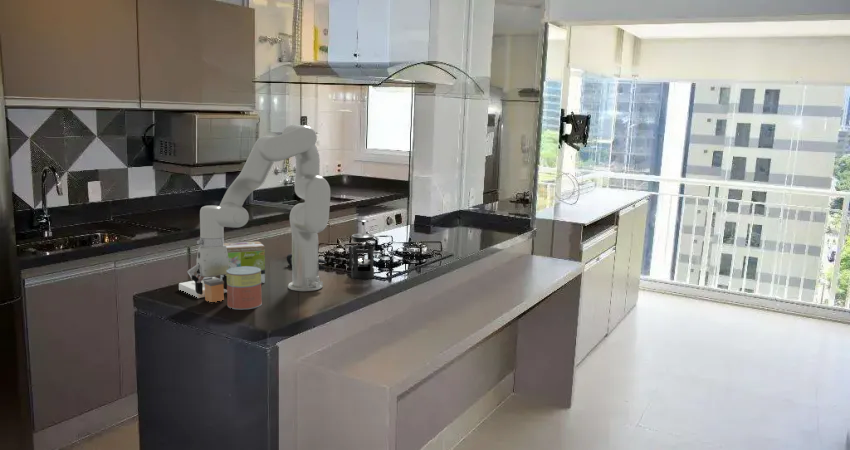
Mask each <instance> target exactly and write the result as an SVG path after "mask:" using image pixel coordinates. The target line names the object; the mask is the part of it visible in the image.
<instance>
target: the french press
mask: <svg viewBox="0 0 850 450" xmlns="http://www.w3.org/2000/svg"><path fill="white" fill-rule="evenodd" d="M357 222H359V223H361V225H362V233H361V232H360V233H354V234H352V235H351V238H352V242H354V243H360V245H351V246H349V247H348V267H349V268H350V269H351V275H350V278H351V279H353V280H358V281H359V280H360V281H363V280H364V281H365V280H372V279H374V278H375V277H374V275H375V268H374V261H375V260H374V252H375V246H372V245H367V244H364V243H365V242H368V241H369V240H370V241H374V238H375V235H374V234H373V233H365V232H364V231H365V229H364V227H365V223H369V220H368V219H359V220H357ZM359 254H367V258H364V257H362V258H359ZM373 277H374V278H373Z"/></svg>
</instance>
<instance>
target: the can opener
mask: <svg viewBox="0 0 850 450" xmlns="http://www.w3.org/2000/svg"><path fill="white" fill-rule="evenodd" d="M286 263H287V264H288V265H289V266H290V267H292V253H288V254H287V256H286ZM320 264H321V265H320ZM323 264H324V265H323ZM325 264H327V261H326V260H324V259H321V258H318V270H325V269H326V266H325Z"/></svg>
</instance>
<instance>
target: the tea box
mask: <svg viewBox="0 0 850 450" xmlns="http://www.w3.org/2000/svg"><path fill="white" fill-rule="evenodd" d="M224 245H226V247H227V252H228V259H229V262H231V263H233V264H236V267H240V266H253V267H258V268H260V269H261V284H265V282H266V246H265V245H264V244H263V243H262V242H261V241H243V242H224ZM229 269H230V266H229ZM219 276H220V278H219V279H222V278H223V277H224V276H223V275H219Z"/></svg>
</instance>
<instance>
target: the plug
mask: <svg viewBox="0 0 850 450" xmlns="http://www.w3.org/2000/svg"><path fill="white" fill-rule="evenodd" d="M204 284H205V297H204V299H205V301H206V302H208V301H209V302H208V303H210V302H215V303H218V302H217V301H220V302H223V301H222V300H224V301H225V296H224V294H225V293H224V286H223V284H224V281H223V280H220V278H219V279H218V277H216V278H215V279H210V280H205V281H204Z"/></svg>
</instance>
